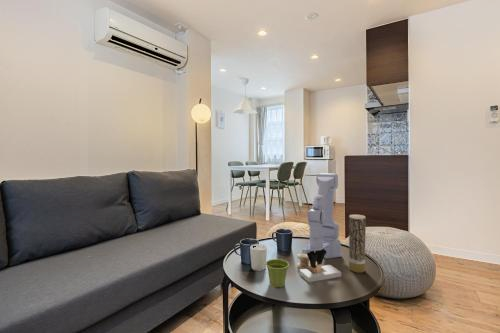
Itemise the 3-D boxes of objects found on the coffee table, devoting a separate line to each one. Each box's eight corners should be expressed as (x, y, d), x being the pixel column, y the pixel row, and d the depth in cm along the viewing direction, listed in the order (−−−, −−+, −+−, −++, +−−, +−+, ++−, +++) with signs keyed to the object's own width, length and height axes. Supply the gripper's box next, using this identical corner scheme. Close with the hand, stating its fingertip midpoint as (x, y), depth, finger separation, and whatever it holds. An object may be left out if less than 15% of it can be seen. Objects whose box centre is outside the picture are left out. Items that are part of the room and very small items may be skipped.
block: (314, 271, 117) (314, 260, 117) (321, 274, 114) (321, 263, 114) (309, 272, 116) (309, 262, 116) (316, 276, 112) (316, 265, 112)
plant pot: (274, 276, 113) (274, 257, 112) (293, 283, 107) (293, 262, 106) (261, 285, 105) (261, 264, 105) (280, 292, 100) (280, 270, 99)
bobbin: (307, 262, 127) (307, 252, 127) (314, 268, 120) (314, 257, 120) (294, 264, 125) (294, 254, 124) (301, 270, 118) (301, 259, 118)
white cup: (267, 264, 125) (267, 244, 125) (266, 271, 117) (266, 250, 117) (251, 264, 126) (250, 243, 126) (249, 271, 118) (249, 249, 118)
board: (329, 268, 120) (330, 264, 120) (341, 276, 112) (341, 271, 112) (299, 274, 115) (299, 269, 115) (308, 282, 107) (308, 277, 107)
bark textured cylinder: (366, 273, 114) (367, 218, 113) (350, 272, 116) (350, 217, 115) (363, 267, 121) (363, 214, 120) (347, 266, 122) (348, 214, 121)
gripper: (321, 231, 121) (321, 259, 122) (297, 236, 114) (297, 266, 114) (333, 235, 115) (332, 265, 116) (308, 241, 108) (308, 273, 108)
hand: (316, 266), depth 115 cm, fingers closed on block, 3 cm apart
